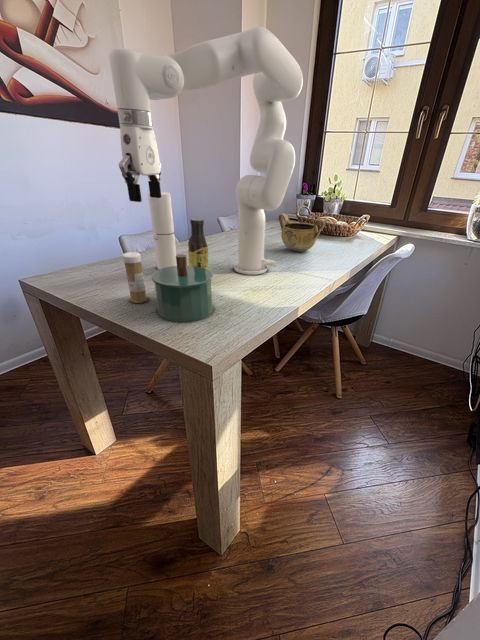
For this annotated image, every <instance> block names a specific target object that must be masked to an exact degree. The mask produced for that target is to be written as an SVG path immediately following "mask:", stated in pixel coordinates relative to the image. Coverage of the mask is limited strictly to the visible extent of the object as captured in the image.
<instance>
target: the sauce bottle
mask: <svg viewBox="0 0 480 640" xmlns="http://www.w3.org/2000/svg"><path fill="white" fill-rule="evenodd" d="M189 222H190V227H191V230H190V231H191V232H190V234H191V235H190V237H189V239H188V243H187V246H188V247H187V248H188V250H187V251H188V252H187V253H188V266H197V267H202V268H205V269H207V270H209V246H208V244H207V240H206V237H205V232H204V225H205V220H204V219H203V218H195V217H194V218H190V221H189Z"/></svg>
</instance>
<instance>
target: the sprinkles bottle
mask: <svg viewBox="0 0 480 640" xmlns="http://www.w3.org/2000/svg"><path fill="white" fill-rule="evenodd" d="M122 261H123V263H124V267H125V272H126V280H127V286H128V290H129V294H130V302H131V303H134V304H141V303H145V302H147V300H148V297H147V291H146V283H145V278H144V277H145V276H144V271H143V267H142V256H141V254H140V253H139V252H135V251H128V252H125V253H123V254H122Z"/></svg>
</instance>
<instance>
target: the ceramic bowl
mask: <svg viewBox="0 0 480 640" xmlns="http://www.w3.org/2000/svg"><path fill="white" fill-rule="evenodd" d="M278 221H279V225H280V229H281V241H282V243H283V245H284V246H285V247H286V248H287V249H289V250H290V251H293V252H296V253H297V252H298V253H303V252H306V251H309V250H310V249H311V248H313V247H314V246H315V244H316V242H317V239H318V238H319V235H320V234H321V232H322V230H323V229H324V227H325V226H326V224H327V221H326V219H325V218H320V219H318V220H316V221H315V223H314V224H313V223H307V222H298V221H297V222H296V221H295V222H290V218H289V216H288V214H287V213H280V214H279V216H278ZM320 222H321V225H320V227H319V228H318V225H319V224H320Z"/></svg>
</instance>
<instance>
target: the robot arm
mask: <svg viewBox="0 0 480 640" xmlns="http://www.w3.org/2000/svg"><path fill="white" fill-rule="evenodd" d="M109 65H110V73H111V77H112V85H113V90H114V97H115V103H116V109H117V117H118V122H119V133H120V134H119V135H120V136H119V137H120V147H121V148H120V149H121V154H122V155H121V157H122V159H121V160H120V161H119V162H118V167H119V170H120V172H121V176H122V178H123V179H124V183H125V184H126V187H127V192H128V200H129V202H133V203H134V202H135V203H141V202H142V200H143V199H142V193H141V185H140V184H138V183H139V179H140V175H141V176H147V178H148V181H147V182H148V183H147V184H148V190H149V191H148V192H150V197H154V198H161V192H162V191H161V175H162V163H161V160H160V154H159V147H158V142H157V137H156V133H155V130H154V125H153V116H152V106H151V101H159V100H167V99H173V98H176V97H178V95H180V93H183V92H186V91H187V92H188V91H190V90H191V91H192V90H201V89H206V88H211V87H216V86H218V85H221V84H224V83H227V82H230V81H234V80H237V79H240V78H243V77H246V76H251V75H253V79H252V87H253V88H252V89H253V94H254V96H255V99H256V101H257V104H258V108H259V115H260V116H259V123H258V127H257V131H256V134H255V138H254V140H253V145H252V147H251V151H250V156H249V163H250V166H251V168H252V169H253V170H254V171H255V172H257V173H261V174H265V176H263V175H256V174H246V175H244V176H242V177H240V179H239V180H238V182H237V184H236V187H235V197H236V204H237V212H238V232H237V233H238V236H237V237H238V238H237V239H238V241H237V243H238V244H237V247H238V248H237V262H236V263H235V264H234V265H233V270H234V271H235V272H237V273H239V274H242V275H250V276H251V275H253V276H255V275H263V274H265V273H266V272H267V271H268V267H276V265H277V264H276V260H273V259H266V258H265V256H264V255H265V237H266V214H265V211H267V212H273V211H276V210H277V209H278V208H279V207H280V206H281V204H282V203H283V200H284V198H285V195H286V192H287V189H288V187H289V185H290V182H291V178H292V175H293V172H294V168H295V165H296V152H295V147H294V146H293V145H292V143H291V142H290V141H289V140H286V139H284V137H285V133H286V128H287V118H286V112H285V110H284V106H283V103H282V102H290V101H293V100H295V99H296V98H298V97H299V95H300V93H301V91H302V88H303V84H304V79H303V78H304V76H303V72H302V68H301V66H300V64H299V63H298V61H297V60H296V59H295V58H294V56H293V55H292V54H291V52H290V51H289V50H288V49H287V48H286V47H285V46H284V45H283V43H282V42H281V41H280V40H279V38H278V37H277V36H276V35H275V34H274V33H272V31H271V30H269V29H268V28H266V27H264V26H256V27H253V28H250V29H247V30H244V31H240V32H236V33H233V34H228V35H225V36H222V37H217V38H213V39H209V40H204V41H201V42H199V43H196V44H193V45H191V46H189V47H186V48H185V49H183V50H180V51H177V52H173V53H171V54H168V55H164V54H146V53H140V52H138V51H136V50H134V49H129V48H122V47H119V48H117V47H115V48H113V49H111V50H110V52H109Z"/></svg>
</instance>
